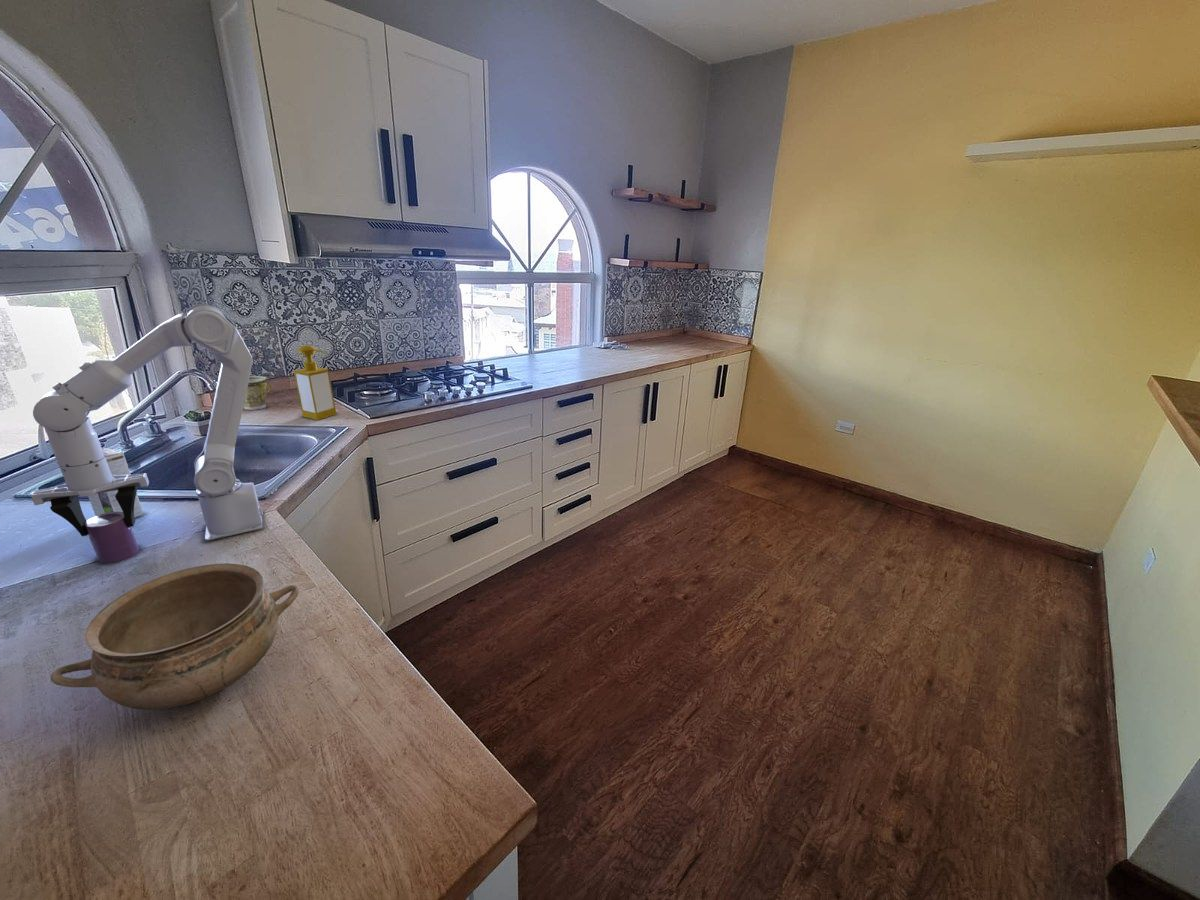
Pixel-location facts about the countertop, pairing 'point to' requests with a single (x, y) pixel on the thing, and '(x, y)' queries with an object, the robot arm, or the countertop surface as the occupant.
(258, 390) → the ceramic cup
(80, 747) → the countertop surface
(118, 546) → the dish middle
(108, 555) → the dish bottom
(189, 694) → the cooking pot
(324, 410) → the soap bottle
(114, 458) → the syrup box
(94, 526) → the dish top
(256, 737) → the countertop surface
